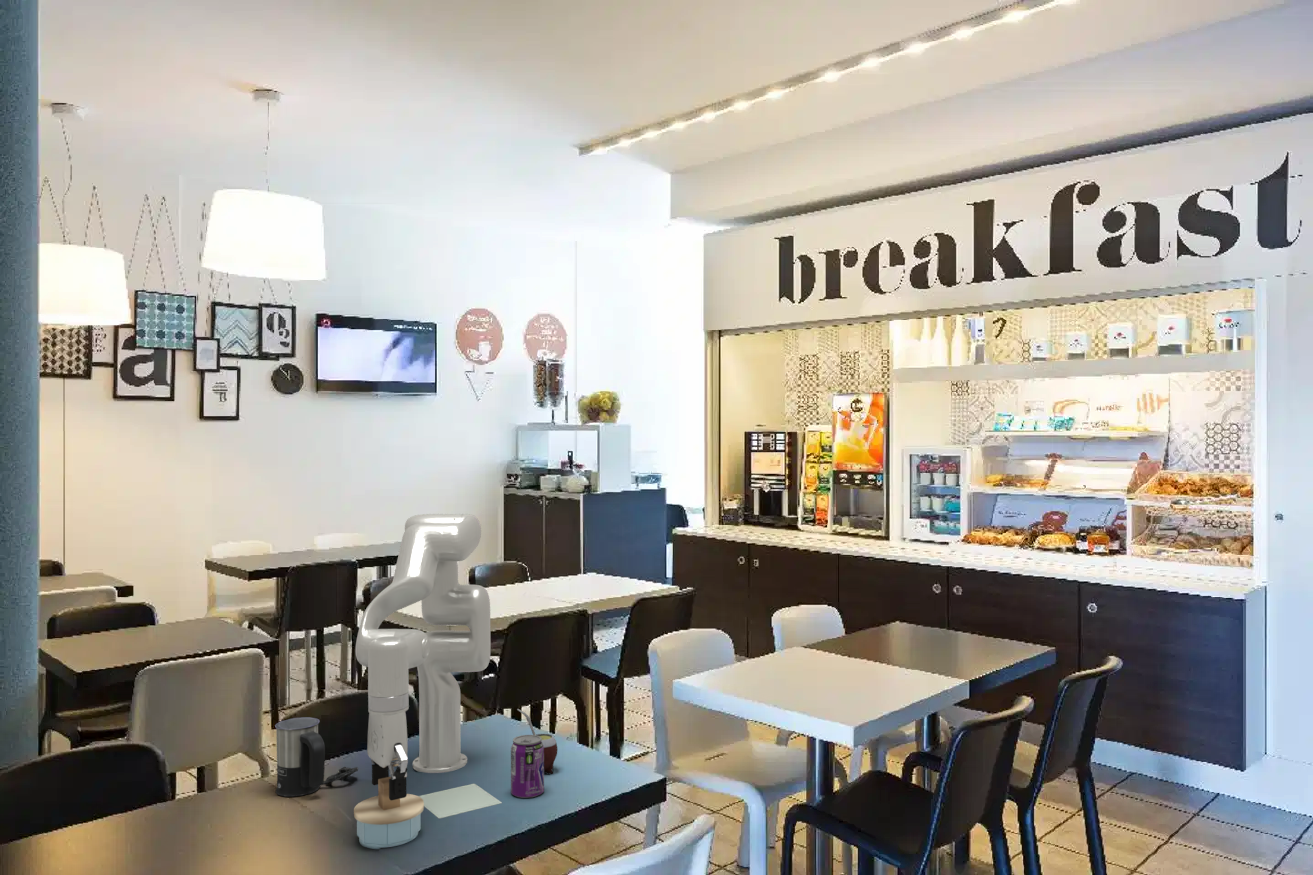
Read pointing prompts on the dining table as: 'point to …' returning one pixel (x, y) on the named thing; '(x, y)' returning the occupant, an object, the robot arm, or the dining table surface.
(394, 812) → the lid
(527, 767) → the beverage can
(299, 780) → the milk frother
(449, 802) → the mat
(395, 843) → the bowl
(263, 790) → the dining table surface
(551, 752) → the mate gourd
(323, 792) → the dining table surface
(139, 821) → the dining table surface
